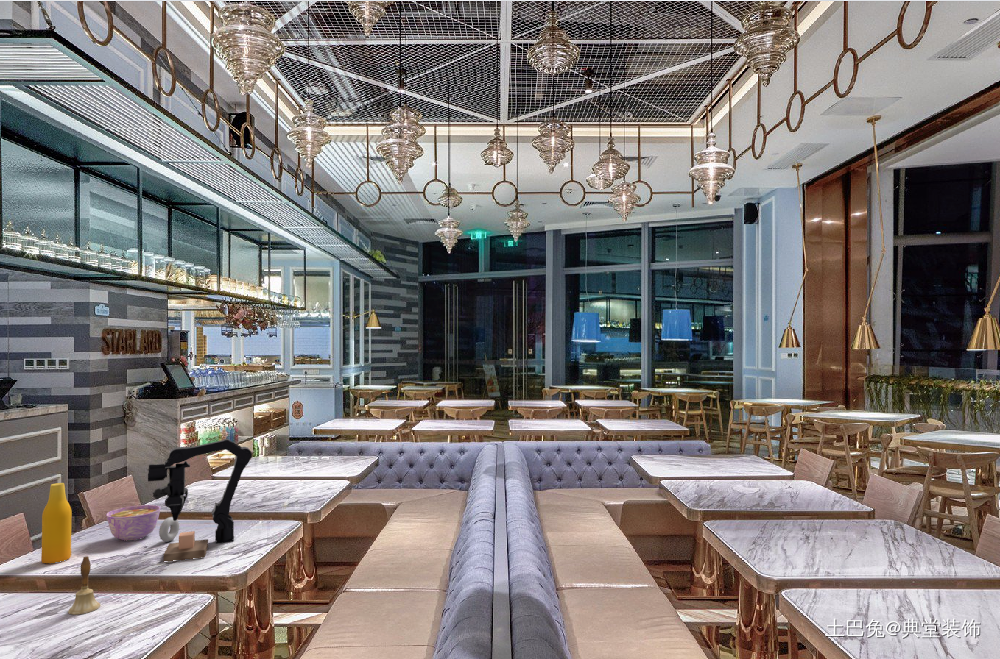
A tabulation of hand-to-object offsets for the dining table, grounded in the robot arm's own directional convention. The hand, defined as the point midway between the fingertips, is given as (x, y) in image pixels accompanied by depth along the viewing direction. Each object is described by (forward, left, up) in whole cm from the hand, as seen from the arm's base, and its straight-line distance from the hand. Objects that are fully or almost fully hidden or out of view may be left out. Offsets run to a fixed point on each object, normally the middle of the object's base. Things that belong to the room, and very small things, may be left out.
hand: (176, 517), depth 243 cm
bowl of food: (+19, -21, -12) cm, 31 cm away
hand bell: (+18, +55, -12) cm, 59 cm away
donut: (+4, -10, -12) cm, 16 cm away
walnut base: (-5, +11, -12) cm, 17 cm away
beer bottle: (+41, -1, -12) cm, 43 cm away
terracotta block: (-5, +11, -9) cm, 15 cm away
